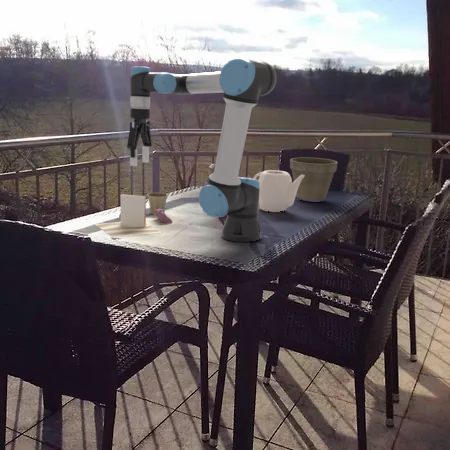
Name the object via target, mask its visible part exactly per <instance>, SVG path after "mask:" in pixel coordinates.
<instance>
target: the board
mask: <svg viewBox="0 0 450 450" xmlns="http://www.w3.org/2000/svg"><path fill="white" fill-rule="evenodd" d="M94 225H95V226H96V227H97V228H99V229H100V230H101V231H103V232H104V233H106V234H107V235H108V236H111V237H110V238H111V239H112V240H113V241H114V240H115V241H116V239H118V240H120V238H127V237H135V236H145V235H153V234H162V232H161V231H160V230H158V229H156V228H154V227H152V226H151V225H149V224H147V223H146V226H145V227H141V226H131V225H121V221H115V222H104V223H95V224H94Z"/></svg>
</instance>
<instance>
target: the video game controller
mask: <svg viewBox="0 0 450 450" xmlns="http://www.w3.org/2000/svg"><path fill="white" fill-rule="evenodd" d="M154 217H157V218H158V220H159V222H161V223H164V224H172V223H173V220H172V218H170V217H169V216H168V215H167V214H166V213H164V211H163V210H162V209H156V210H155V215H154Z"/></svg>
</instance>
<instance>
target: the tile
mask: <svg viewBox="0 0 450 450" xmlns="http://www.w3.org/2000/svg"><path fill="white" fill-rule="evenodd" d="M146 196H147V195H136V194H135V195H134V194H124V193H122V194H120V222H121V225H131V226H141V227H145V226H146V224H147V223H146V222H147V212H146V211H147V210H146V209H147V197H146Z"/></svg>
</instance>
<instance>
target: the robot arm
mask: <svg viewBox="0 0 450 450" xmlns="http://www.w3.org/2000/svg"><path fill="white" fill-rule="evenodd" d="M129 78H130V98H129V101H130V107H131V108H130V115H129V116H130V118H131V119H134V120H133V121H130V123H129V132H128V138H127V146H126V148H127V149H128V150H129V167H130V166H131V167H138V149H137V147H138V143H139V139H140V137H141V141H142V145H143V146H141V147H142V151H141V152H142V155H141V156H142V158H141V159H142V160H141V162H142V163H147V164H149V163H150V147H153V146H152V145H153V144H152V143H153V142H152V135H151V128H150V127H151V126H150V125H151V124H150V121H149V119H150V118H151V110H150V107H151V93H152V94H160V95H161V94H163V95H167V94H168V95H184V96H190V95H195V94H196V95H198V94H219V93H223V94H222V95H223V96H222V98H223V101H225V104H226V105H225V108H224V109H225V110H224V115H223V121H222V127H221V130H220V131H221V132H220V136H219V137H220V138H219V143H218V148H217V154H216V158H215V159H216V160H215V164H214V171H213V172H212V173H211V174H209V175H208V178H207V183H206V184H205V185H204V186H203V187H202V188H201V189H200V190H199V193H198V202H199V205H200V207H201V208H202V211H203V213H205V214H206V215H207V216H209V217H211V218H223V217H225V216H226V218H225V219H226V220H225V222H224V225H223V227H222V230H221V237H222V238H223V239H225V240H227V241H230V242H231V241H232V242H239V243H251V242H250V241H253V242H256V240H258V241H260V240H261V239H262V230H261V226H260V221H259V191H260V188H259V179H257V178H256V179H253V178H251V177H243V176H239V174H240V168H241V164H242V158H243V154H244V149H245V144H246V139H247V134H248V129H249V124H250V119H251V113H252V109H253V108H254V107H255V106H257V105H258V102H259V97H264V96H266V95H268V94H270V93H271V92H272V91H273V90H274V88H275V86H276V84H277V73H276V71H275V69H274V67H273V65H272V64H270V63H268V62H266V61H263V60H256V59H251V58H250V59H249V58H247V57H236V58H234V57H233V58H232V59H231V58H230V60H228V61H227V62H226V63H225V64H223V66H222V68H221V70H220V71H214V72H213V71H212V72H200V73H186V74H185V73H184V74H181V73H179V74H178V73H177V74H176V73H170V72H166V71H159V72H157V71H156V72H151V68H150V67H148V66H136V65H135V66H131V67H130V77H129ZM259 239H260V240H259Z"/></svg>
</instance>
